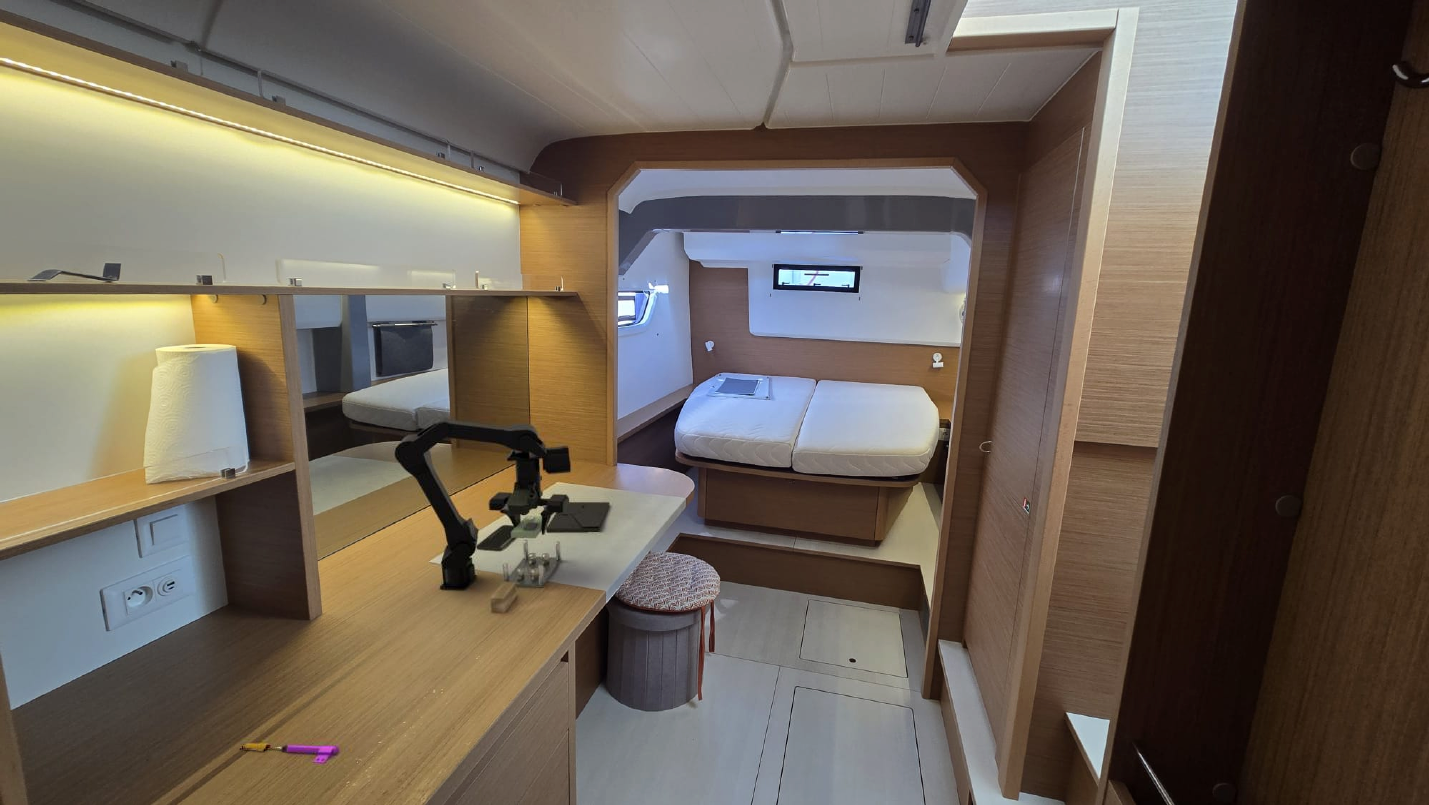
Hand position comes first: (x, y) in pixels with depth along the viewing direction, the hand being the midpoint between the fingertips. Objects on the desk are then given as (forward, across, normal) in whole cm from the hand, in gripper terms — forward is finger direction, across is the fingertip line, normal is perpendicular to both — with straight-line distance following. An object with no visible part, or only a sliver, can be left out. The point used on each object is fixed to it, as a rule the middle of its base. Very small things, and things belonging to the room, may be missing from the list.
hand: (531, 534), depth 141 cm
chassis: (+11, 0, 0) cm, 11 cm away
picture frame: (+12, +2, +35) cm, 37 cm away
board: (-1, 0, 0) cm, 1 cm away
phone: (+11, -16, +19) cm, 27 cm away
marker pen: (+12, -18, -58) cm, 62 cm away
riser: (+11, -1, -14) cm, 18 cm away
